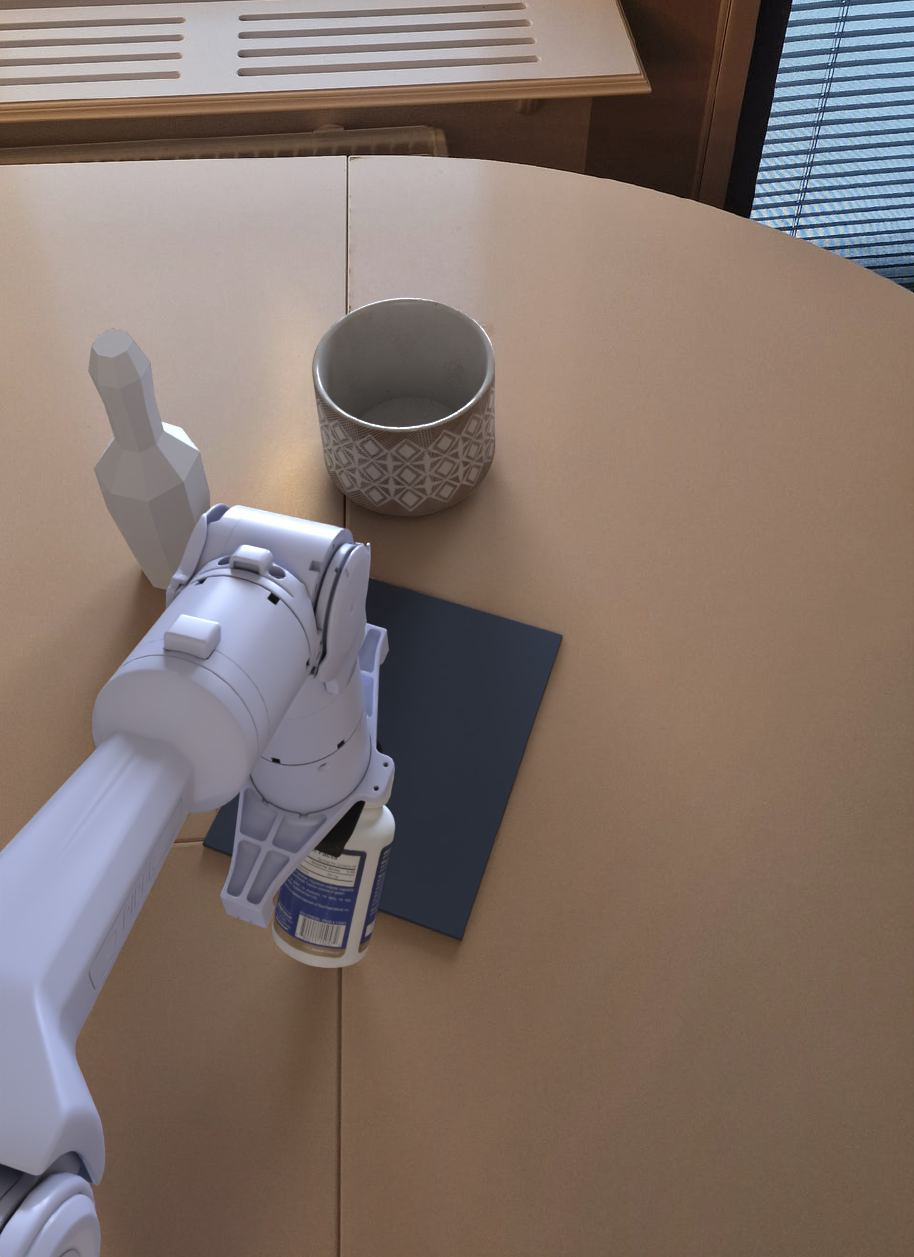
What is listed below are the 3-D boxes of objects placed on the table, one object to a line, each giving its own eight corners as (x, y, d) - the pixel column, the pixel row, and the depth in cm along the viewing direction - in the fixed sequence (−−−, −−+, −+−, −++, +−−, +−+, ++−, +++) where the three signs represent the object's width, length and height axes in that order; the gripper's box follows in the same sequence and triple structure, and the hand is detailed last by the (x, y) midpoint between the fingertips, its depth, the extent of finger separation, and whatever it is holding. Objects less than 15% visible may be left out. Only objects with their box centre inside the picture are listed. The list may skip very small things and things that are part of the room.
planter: (497, 524, 92) (497, 429, 84) (319, 527, 92) (304, 432, 85) (492, 391, 101) (492, 295, 94) (331, 394, 101) (318, 299, 94)
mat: (461, 942, 71) (461, 939, 71) (202, 846, 75) (202, 843, 75) (562, 638, 85) (562, 634, 85) (339, 571, 89) (338, 568, 89)
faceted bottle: (241, 551, 90) (190, 331, 75) (179, 618, 87) (111, 399, 72) (175, 511, 93) (113, 290, 78) (111, 573, 89) (33, 354, 74)
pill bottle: (326, 909, 73) (364, 741, 73) (387, 959, 69) (427, 782, 69) (249, 927, 69) (289, 750, 70) (309, 981, 66) (351, 794, 66)
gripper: (315, 894, 51) (342, 1011, 61) (440, 596, 61) (448, 736, 70) (158, 836, 53) (208, 958, 62) (305, 556, 63) (329, 697, 72)
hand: (327, 838), depth 67 cm, fingers closed
